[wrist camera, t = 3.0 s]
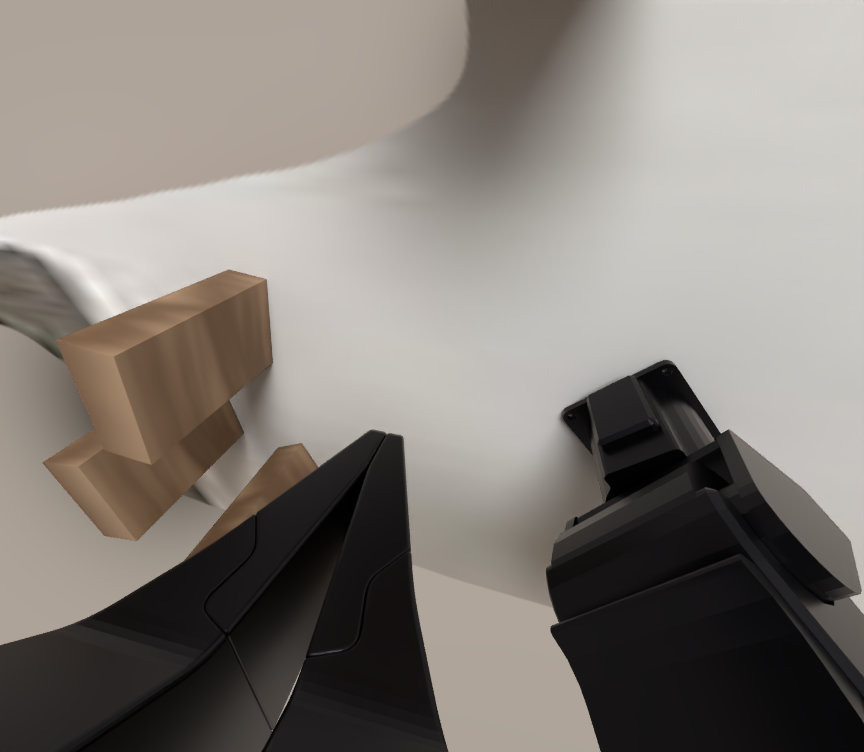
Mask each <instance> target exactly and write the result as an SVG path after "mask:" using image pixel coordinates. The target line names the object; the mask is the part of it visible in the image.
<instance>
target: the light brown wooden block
mask: <svg viewBox="0 0 864 752" xmlns="http://www.w3.org/2000/svg"><path fill="white" fill-rule="evenodd" d="M243 434H244V432H243V430H242V427H241V425H240V423H239V421H238V419H237V416H236V414H235V412H234V410H233V408H232V405H231V403H230V401H229V400H228V401H227V402H225V403H224V404H223V405H222V406H221V407H220V408H218V409H217V410H216V411H215V412H214V413H212V414H211V415H210V416H209V417H208V418H207V419H205V420H204V421H203V422H202V423H201V424H200V425H198V426H197V427H196V428H195V429H194V430H192V431H191V432H190V433H189V434H188V435H187V436H185V437H184V438H183V439H182V440H181V441H179V442H178V443H177V444H176V445H175V446H174V447H172V448H171V449H170V450H169V451H168V452H167V453H165V454H164V455H163V456H162V457H161V458H159V459H158V460H157V461H156V462H155V463H154V464H152V465H150V464H147V463H144V462H140V461H137V460H134V459H131V458H127V457H124V456H121V455H118V454H114V453H111V452H108V451H105V450H104V448H103V446H102V444H101V442H100V439H99V437H98V435H97V433H96V430H95V429H94V430H92V431H91V432H89V433H87V434H86V435H84V436H83V437H81V438H80V439H78V440H77V441H75V442H74V443H72V444H70V445H69V446H67V447H66V448H64V449H63V450H61V451H60V452H58V453H57V454H55V455H54V456H52V457H50V458H49V459H48V460H46V461H44V462H43V464H44V465H45V466H46V468H47V469H48V470H49V471H50V472H51V473H52V475H53V476H54V477H55V478H56V479H57V481H58V482H59V483H60V484H61V485H62V487H63V488H64V489H65V490H66V491H67V492H68V494H69V495H70V496H71V497H72V498H73V499H74V501H75V502H76V503H77V504H78V505H79V506H80V508H81V509H82V510H83V511H84V512H85V514H86V515H87V516H88V517H89V518H90V519H91V521H92V522H93V523H94V524H95V525H96V526H97V528H98V529H99V530H100V531H101V532H102V534H103V535H104V536H109V537H114V538H121V539H127V540H133V541H137V540H138V539H139V538H140V537H141V536H142V535H143V534H144V533H145V532H146V531H147V530H148V529H149V528H150V527H151V526H152V525H153V524H154V523H155V522H156V521H157V520H158V519H159V518H160V517H161V516H162V515H163V514H164V513H165V512H166V511H167V510H168V509H169V508H170V507H171V506H172V505H173V504H174V503H175V502H176V501H177V500H178V499H179V498H180V497H181V496H182V495H183V494H184V493H185V492H186V491H187V490H188V489H189V488H190V487H191V486H192V485H193V484H194V483H195V482H196V481H197V480H198V479H199V478H200V477H201V476H202V475H203V474H204V473H205V472H206V471H207V470H208V469H209V468H210V467H211V466H212V465H213V464H214V463H215V462H216V461H217V460H218V459H219V458H220V457H221V456H222V455H223V454H224V453H225V452H226V451H227V450H228V449H229V448H230V447H231V446H232V445H233V444H234V443H235V442H236V441H237V440H238V439H239V438H240V437H241V436H242V435H243Z"/></svg>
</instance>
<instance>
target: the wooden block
mask: <svg viewBox="0 0 864 752" xmlns="http://www.w3.org/2000/svg"><path fill="white" fill-rule="evenodd" d="M56 342H57V344H58V346H59V349H60V351H61V353H62V355H63V358H64V360H65V362H66V365H67V367H68V369H69V371H70V374H71V376H72V378H73V380H74V383H75V385H76V387H77V389H78V392H79V394H80V396H81V398H82V401H83V403H84V405H85V408H86V410H87V412H88V414H89V417H90V419H91V421H92V424H93V426H94V428H95V430H96V433H97V435H98V437H99V439H100V442H101V444H102V446H103V448H104V450H105V451H108V452H111V453H114V454H118V455H121V456H124V457H127V458H131V459H134V460H137V461H140V462H144V463H147V464H150V465H152V464H154V463H155V462H156V461H157V460H158V459H159V458H161V457H162V456H163V455H164V454H165V453H167V452H168V451H169V450H170V449H171V448H172V447H174V446H175V445H176V444H177V443H178V442H179V441H181V440H182V439H183V438H184V437H185V436H187V435H188V434H189V433H190V432H191V431H192V430H194V429H195V428H196V427H197V426H198V425H200V424H201V423H202V422H203V421H204V420H205V419H207V418H208V417H209V416H210V415H211V414H212V413H214V412H215V411H216V410H217V409H218V408H220V407H221V406H222V405H223V404H224V403H225V402H227V401H228V400H229V399H230V398H231V397H233V396H234V395H235V394H236V393H237V392H238V391H240V390H241V389H242V388H243V387H244V386H245V385H247V384H248V383H249V382H250V381H251V380H253V379H254V378H255V377H256V376H257V375H258V374H260V373H261V372H262V371H263V370H264V369H266V368H267V367H268V366H269V365H270V364H271V363H273V359H272V346H271V333H270V319H269V306H268V293H267V279H263V278H259V277H255V276H252V275H248V274H244V273H240V272H236V271H232V270H227V271H224V272H222V273H219V274H217V275H214V276H212V277H209V278H207V279H205V280H202V281H200V282H197V283H195V284H192V285H190V286H187V287H185V288H182V289H180V290H178V291H175V292H173V293H170V294H168V295H165V296H163V297H160V298H158V299H156V300H153V301H151V302H148V303H146V304H143V305H141V306H138V307H136V308H133V309H131V310H129V311H126V312H124V313H121V314H119V315H116V316H114V317H111V318H109V319H107V320H104V321H102V322H99V323H97V324H94V325H92V326H89V327H87V328H85V329H82V330H80V331H77V332H75V333H72V334H70V335H67V336H65V337H62V338H60V339H58V340H56Z"/></svg>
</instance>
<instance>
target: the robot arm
mask: <svg viewBox="0 0 864 752" xmlns="http://www.w3.org/2000/svg"><path fill="white" fill-rule="evenodd" d="M665 368H670V369H669V371H667V372H662V370H663V369H665ZM569 414H575V415H574V416H572V417H571V416H568V415H569ZM563 419H564V421H565V422H566V423H567V425H568V426H569V427H570V428H571V429H572V431H573V432H574V433H575V434H576V436H577V437H578V438H579V439H580V440H581V442H582V443H583V444H584V445H585V447H586V448H587V449H588V450H589V451H590V453H591V454H592V455H593V457H594V462H595V466H596V471H597V475H598V480H599V484H600V489H601V493H602V498H603V502H604V504H602V505H600V506H599V507H597V508H595V509H593V510H591V511H590V512H588V513H586V514H584V515H583V516H581V517H579V518H578V517H575V518H573V519H571V520H569V521H568V522H567V524H566V528H565V532H563V533H561V534H560V536H559V537H558V539H557V540H556V542H555V543H554V547H553V554H552V561H551V565H550V566H548V567H547V568H546V578H547V584H548V591H549V595H550V598H551V602H552V605H553V609H554V611H555V614H556V616H557V619H558V622H559V623H557V624H555V625H552V626H551V633H552V636H553V637H554V639H555V640H556V642H557V644H558V645H559V647H560V648H561V650H562V652H563V653H564V655H565V656H566V658H567V659H568V661H569V664H570V666H571V668H572V670H573V672H574V674H575V677H576V679H577V681H578V683H579V685H580V688H581V690H582V694H583V696H584V699H585V702H586V705H587V708H588V711H589V715H590V718H591V721H592V724H593V728H594V731H595V734H596V737H597V740H598V744H599V747H600V751H601V752H864V615H863V613H862V612H861V611H860V610H859V608H858V607H857V606H856V605H855V604H854V602H853V601H852V600H851V599H850V597H851V596H855V595H858V594H861V591H862V590H861V585H860V581H859V577H858V572H857V568H856V564H855V559H854V555H853V551H852V546H851V542H850V540H849V539H848V538H847V536H846V535H845V534H844V533H843V532H842V531H841V530H840V529H839V527H838V526H837V525H836V524H835V523H834V522H833V521H832V520H831V519H830V518H829V516H828V515H827V514H826V513H825V512H824V511H823V510H822V509H821V508H820V506H819V505H818V504H817V503H816V502H815V501H814V500H813V499H812V498H811V496H810V495H809V494H808V493H807V492H806V491H805V490H804V489H803V488H802V487H800V486H799V485H798V484H797V483H795V482H794V481H793V480H792V479H790V478H789V477H788V476H787V475H785V474H784V473H783V472H782V471H781V470H779V469H778V468H777V467H776V466H774V465H773V464H772V463H771V462H769V461H768V460H767V459H766V458H764V457H763V456H762V455H761V454H759V453H758V452H757V451H756V450H754V449H753V448H752V447H751V446H750V445H748V444H747V443H746V442H745V441H743V440H742V439H741V438H740V437H738V436H737V435H736V434H735V433H733V432H732V431H731V430H727V431H725V432H723V433H722V434H721V433H720V432H719V430H718V429H717V427H716V426H715V424H714V423H713V421H712V420H711V418H710V417H709V415H708V414H707V412H706V411H705V409H704V408H703V406H702V405H701V403H700V401H699V400H698V398H697V397H696V395H695V394H694V392H693V391H692V389H691V388H690V386H689V385H688V383H687V382H686V380H685V379H684V377H683V376H682V374H681V373H680V371H679V370H678V368H677V367H676V365H675V364H674V363H673V362H672V361H669V360H663V361H660V362H658V363H656V364H654V365H652V366H650V367H648V368H646V369H644V370H642V371H640V372H638V373H636V374H634V375H632V376H627V377H625V378H623V379H621V380H619V381H617V382H615V383H613V384H611V385H609V386H607V387H605V388H603V389H601V390H599V391H597V392H595V393H592V394H590V395H589V396H588V397H587V398H585V399H583V400H581V401H579V402H577V403H575V404H573V405H571V406H569V407H567V408H565V409H564V410H563ZM714 437H715V438H714ZM410 552H411V545H410V530H409V515H408V499H407V484H406V469H405V453H404V439H403V436H401V435H397V434H392V433H388V434H386V433H385V432H382V431H377V430H370V431H368V432H367V433H365V434H364V435H363V436H361V437H360V438H358V439H357V440H356V441H354V442H353V443H351V444H350V445H349V446H347V447H346V448H345V449H343V450H342V451H340V452H339V453H338V454H336V455H335V456H334V457H332V458H331V459H329V460H328V461H327V462H325V463H324V464H322V465H321V466H320V467H318V468H317V469H316V470H314V471H313V472H311V473H310V474H309V475H307V476H306V477H305V478H303V479H302V480H300V481H299V482H298V483H296V484H295V485H293V486H292V487H291V488H289V489H288V490H287V491H285V492H284V493H282V494H281V495H280V496H278V497H277V498H276V499H274V500H273V501H271V502H270V503H269V504H267V505H266V506H265V507H263V508H262V509H260V510H259V511H258V512H257V513H256V515H255V514H253V515H252V516H250V517H249V518H248V519H246V520H245V521H244V522H242V523H241V524H239V525H238V526H237V527H235V528H234V529H232V530H231V531H229V532H228V533H226V534H225V535H224V536H222V537H221V538H219V539H218V540H216V541H215V542H213V543H212V544H210V545H209V546H207V547H205V548H204V549H202V550H201V551H199V552H198V553H196V554H194V555H193V556H191V557H190V558H188V559H186V560H185V561H183V562H182V563H180V564H179V565H177V566H175V567H173V568H172V569H170V570H168V571H167V572H165V573H163V574H162V575H160V576H158V577H157V578H155V579H154V580H152V581H150V582H149V583H147V584H145V585H144V586H142V587H140V588H139V589H137V590H135V591H134V592H132V593H130V594H129V595H127V596H125V597H124V598H122V599H121V600H119V601H117V602H116V603H114V604H112V605H110V606H109V607H107V608H105V609H103V610H102V611H99V612H98V613H96V614H94V615H92V616H90V617H87V618H85V619H83V620H81V621H78V622H76V623H74V624H71V625H68V626H66V627H63V628H60V629H57V630H54V631H50V632H47V633H43V634H39V635H36V636H33V637H29V638H25V639H21V640H18V641H14V642H10V643H7V644H3V645H0V752H448V749H447V745H446V742H445V738H444V735H443V731H442V728H441V723H440V719H439V715H438V710H437V706H436V701H435V696H434V691H433V687H432V682H431V677H430V672H429V667H428V662H427V657H426V652H425V647H424V642H423V637H422V632H421V627H420V622H419V616H418V611H417V605H416V599H415V592H414V582H413V573H412V558H411V553H410ZM305 658H306V659H305ZM302 665H303V666H302ZM301 667H302V669H301ZM300 669H301V672H300ZM299 672H300V674H299ZM298 674H299V677H298V680H297V682H296V685H295V687H294V690H293V692H292V695H291V697H290V699H289V701H288V703H287V705H286V707H285V709H284V711H283V713H282V715H281V717H280V718H279V716H280V714H281V712H282V710H283V707H284V705H285V703H286V701H287V698H288V696H289V694H290V692H291V690H292V687H293V685H294V683H295V681H296V678H297V676H298ZM278 718H279V720H278ZM277 720H278V722H277ZM276 723H277V724H276ZM275 725H276V726H275ZM274 727H275V728H274ZM271 730H273V731H271Z"/></svg>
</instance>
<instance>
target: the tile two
mask: <svg viewBox="0 0 864 752" xmlns="http://www.w3.org/2000/svg"><path fill="white" fill-rule="evenodd" d="M317 468H318V466H317V465H316V463H315V462H314V460H313V459H312V457H311V456H310V455H309V453H308V452H307V450H306V449H305V447H304V446H303V444H302V443H300V444H295V445H290V446H284V447H279V448H277V450H276V451H275V452H274V453H273V454H272V456H271V457H270V458H269V459H268V460H267V462H266V463H265V464H264V465H263V466H262V468H261V469H260V470H259V471H258V472H257V474H256V475H255V476H254V477H253V478H252V480H251V481H250V482H249V483H248V484H247V486H246V487H245V488H244V489H243V490H242V492H241V493H240V494H239V495H238V497H237V498H236V499H235V500H234V501H233V503H232V504H231V505H230V506H229V507H228V509H227V510H226V511H225V512H224V513H223V515H222V516H221V517H220V518H219V519H218V521H217V522H216V523H215V524H214V525H213V527H212V528H211V529H210V530H209V532H208V533H207V534H206V535H205V536H204V537H203V539H202V540H201V541H200V542H199V544H198V545H197V546H196V547H195V548H194V550H193V551H192V552H191V553H190V554H189V556H188V557H187V558H186V559H188V558H190V557H191V556H193V555H194V554H196V553H198V552H199V551H201V550H202V549H204V548H205V547H207V546H209V545H210V544H212V543H213V542H215V541H216V540H218V539H219V538H221V537H222V536H224V535H225V534H226V533H228V532H229V531H231V530H232V529H234V528H235V527H237V526H238V525H239V524H241V523H242V522H244V521H245V520H246V519H248V518H249V517H250V516H252V515H253V514H255V515H256V513H257V512H258V511H259V510H260V509H262V508H263V507H265V506H266V505H267V504H269V503H270V502H271V501H273V500H274V499H276V498H277V497H278V496H280V495H281V494H282V493H284V492H285V491H287V490H288V489H289V488H291V487H292V486H293V485H295V484H296V483H298V482H299V481H300V480H302V479H303V478H305V477H306V476H307V475H309V474H310V473H311V472H313V471H314V470H316V469H317ZM186 559H185V560H186ZM185 560H184V561H185Z"/></svg>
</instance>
